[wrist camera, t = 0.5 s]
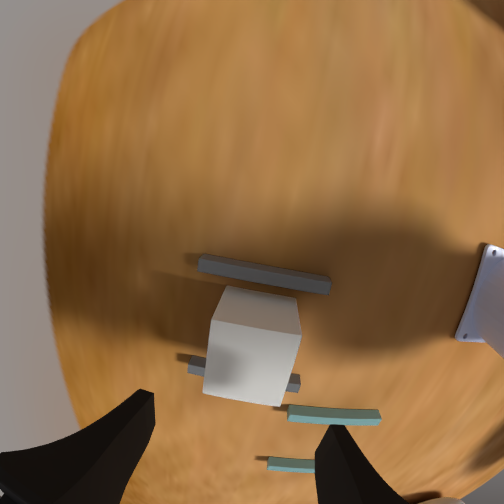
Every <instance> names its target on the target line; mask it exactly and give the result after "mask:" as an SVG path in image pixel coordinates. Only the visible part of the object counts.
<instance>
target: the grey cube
mask: <svg viewBox="0 0 504 504" xmlns="http://www.w3.org/2000/svg"><path fill="white" fill-rule="evenodd" d="M301 338H302V331H301V325H300V320H299V314H298V308H297V302H296V298H294V297H288V296H282V295H277V294H271V293H265V292H260V291H255V290H249V289H244V288H239V287H234V286H228V285H227V286H226V288H225V290H224V292H223V294H222V297H221V299H220V301H219V303H218V306H217V308H216V310H215V312H214V314H213V317H212V319H211V326H210V334H209V341H208V350H207V358H206V366H205V375H204V384H203V393H205V394H209V395H214V396H219V397H223V398H228V399H234V400H239V401H245V402H251V403H257V404H263V405H270V406H278V407H280V405H281V402H282V399H283V396H284V393H285V390H286V387H287V384H288V381H289V378H290V375H291V371H292V368H293V365H294V362H295V358H296V355H297V352H298V348H299V345H300V342H301Z"/></svg>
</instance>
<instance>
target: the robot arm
mask: <svg viewBox="0 0 504 504" xmlns="http://www.w3.org/2000/svg"><path fill="white" fill-rule="evenodd" d="M493 250H494V251H493ZM492 252H493V254H492ZM464 335H465V336H464ZM455 338H456V340H457V341H465V342H487V343H488V344H489V345H490V346H491V347H492V348H493V349H494V350H495V351H496V352H497V353H498V354H499V355H500V356H501V357H503V358H504V249H502V248H499V247H497V246H494V245H491V244H487V245H486V246H485V248H484V252H483V256H482V259H481V263H480V267H479V270H478V273H477V277H476V280H475V283H474V286H473V289H472V292H471V295H470V298H469V301H468V304H467V306H466V309H465V312H464V314H463V317H462V319H461V322H460V324H459V327H458V329H457V331H456V334H455ZM154 426H155V408H154V393H152V392H149V391H146V390H143V389H139V390H137V391H136V392H135V393H134V394H132V395H131V396H130V397H129V398H128V399H126V400H125V401H124V402H122V403H121V404H120V405H119V406H117V407H116V408H115V409H113V410H112V411H110V412H109V413H108V414H106V415H105V416H103V417H102V418H100V419H99V420H97V421H96V422H94V423H92V424H91V425H89V426H87V427H86V428H84V429H82V430H80V431H78V432H76V433H74V434H72V435H70V436H68V437H65V438H63V439H60V440H57V441H55V442H52V443H49V444H46V445H42V446H38V447H34V448H30V449H25V450H19V451H11V452H1V453H0V489H1V490H2V492H4V494H3V496H2V497H1V496H0V504H120V501H121V498H122V495H123V493H124V490H125V487H126V485H127V483H128V481H129V479H130V477H131V475H132V473H133V471H134V469H135V468H136V466H137V464H138V462H139V460H140V458H141V456H142V454H143V453H144V451H145V449H146V447H147V445H148V443H149V440H150V438H151V435H152V432H153V429H154ZM315 480H316V488H317V496H318V504H409V503H408V502H407V501H406V500H404V499H403V498H402V497H401V496H399V495H398V494H397V493H396V492H395V491H394V490H393V489H392V488H391V487H390V486H389V485H388V484H387V483H386V482H385V481H384V480H383V479H382V478H381V476H380V475H379V474H378V473H377V472H376V470H375V469H374V468H373V467H372V465H371V464H370V463H369V461H368V460H367V458H366V457H365V456H364V454H363V453H362V451H361V450H360V448H359V447H358V445H357V444H356V442H355V441H354V439H353V438H352V436H351V435H350V433H349V432H348V430H347V429H346V427H345V426H344V425H338V424H330V426H329V427H328V429H327V431H326V433H325V435H324V437H323V439H322V440H321V442H320V444H319V446H318V448H317V449H316V451H315Z"/></svg>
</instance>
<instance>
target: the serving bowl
mask: <svg viewBox="0 0 504 504" xmlns="http://www.w3.org/2000/svg"><path fill="white" fill-rule="evenodd" d="M417 504H465V503H464V502H463V501H461V500H459V499H456V498H451V497H443V498H436V499H431V500H428V501H424V502H421V503H417Z"/></svg>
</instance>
